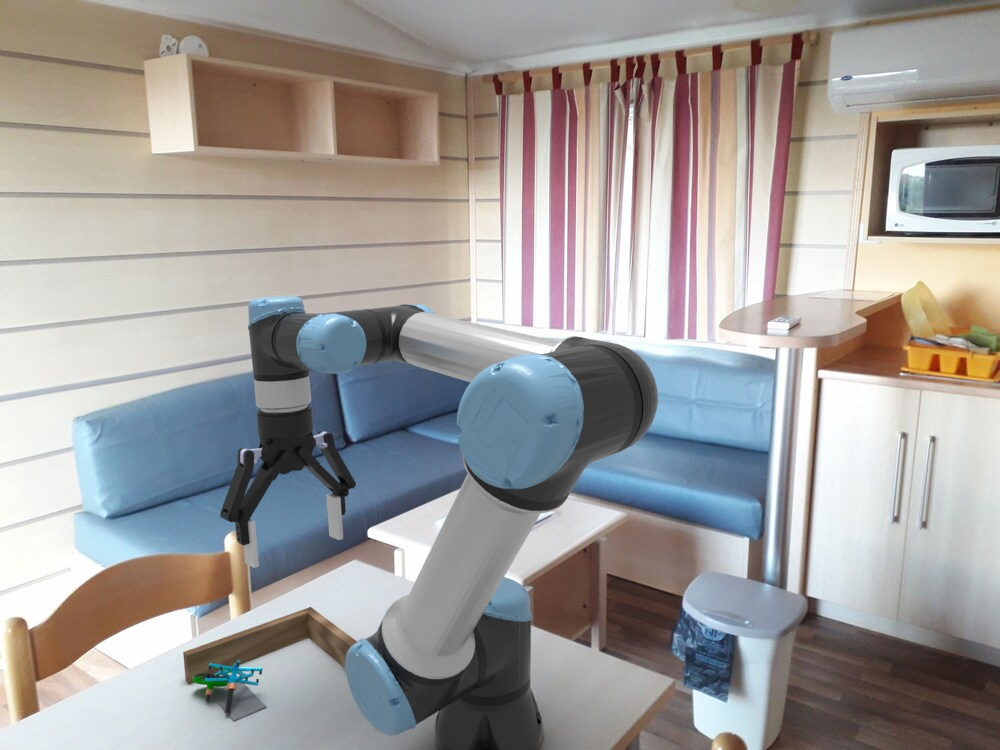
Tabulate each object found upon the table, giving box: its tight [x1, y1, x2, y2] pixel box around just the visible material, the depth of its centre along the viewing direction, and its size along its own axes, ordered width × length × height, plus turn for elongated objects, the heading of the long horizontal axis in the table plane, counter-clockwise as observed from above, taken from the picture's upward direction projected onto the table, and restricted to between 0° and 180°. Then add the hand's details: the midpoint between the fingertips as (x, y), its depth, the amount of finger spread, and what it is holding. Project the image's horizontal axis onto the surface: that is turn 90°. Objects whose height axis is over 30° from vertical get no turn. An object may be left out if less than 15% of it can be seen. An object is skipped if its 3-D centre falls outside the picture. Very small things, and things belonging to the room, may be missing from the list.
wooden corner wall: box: [182, 606, 358, 686], centre depth 124 cm, size 16×22×5 cm
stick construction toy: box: [192, 660, 264, 714], centre depth 117 cm, size 12×7×8 cm
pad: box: [211, 682, 267, 722], centre depth 118 cm, size 9×5×1 cm, turn 41°
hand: (295, 550), depth 113 cm, fingers open, 13 cm apart
